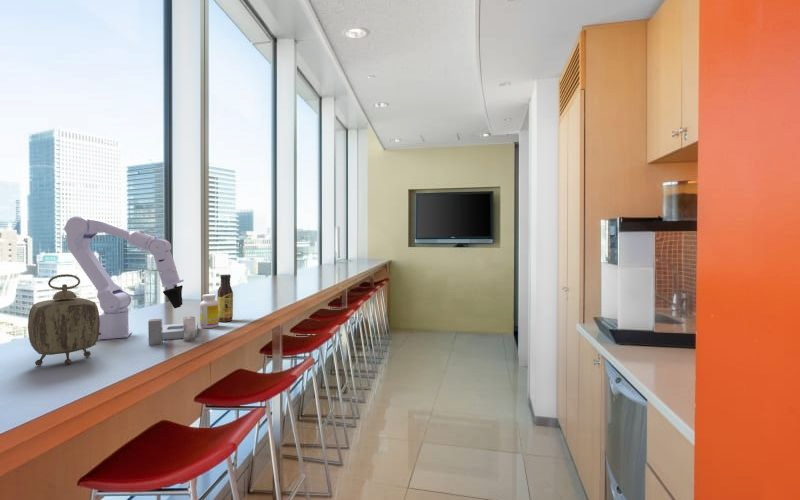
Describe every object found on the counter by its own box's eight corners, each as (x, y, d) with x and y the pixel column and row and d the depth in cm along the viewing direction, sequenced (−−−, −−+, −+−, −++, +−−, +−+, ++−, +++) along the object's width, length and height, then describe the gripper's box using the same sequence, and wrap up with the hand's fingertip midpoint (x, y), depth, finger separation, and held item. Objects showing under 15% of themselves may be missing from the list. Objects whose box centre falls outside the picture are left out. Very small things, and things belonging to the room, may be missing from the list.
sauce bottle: (226, 322, 167) (226, 275, 166) (213, 322, 168) (213, 275, 167) (236, 319, 173) (236, 274, 172) (223, 319, 174) (223, 273, 174)
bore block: (150, 340, 137) (150, 333, 137) (156, 332, 149) (156, 325, 149) (196, 336, 143) (196, 329, 143) (198, 328, 155) (197, 322, 155)
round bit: (183, 342, 135) (182, 318, 135) (183, 339, 138) (183, 317, 138) (195, 341, 136) (194, 318, 136) (195, 338, 140) (195, 316, 139)
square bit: (148, 345, 131) (148, 321, 130) (150, 343, 134) (149, 319, 134) (161, 344, 132) (161, 320, 132) (162, 341, 135) (162, 318, 135)
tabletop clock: (93, 354, 120) (92, 272, 120) (102, 360, 115) (100, 273, 114) (28, 366, 109) (26, 275, 108) (34, 373, 103) (32, 277, 103)
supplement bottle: (221, 325, 162) (221, 293, 161) (212, 328, 155) (212, 296, 155) (206, 324, 162) (206, 293, 162) (196, 328, 156) (196, 295, 155)
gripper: (177, 268, 141) (189, 305, 142) (181, 267, 154) (191, 301, 155) (155, 274, 138) (167, 311, 139) (160, 273, 151) (171, 307, 152)
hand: (178, 306), depth 147 cm, fingers open, 7 cm apart
